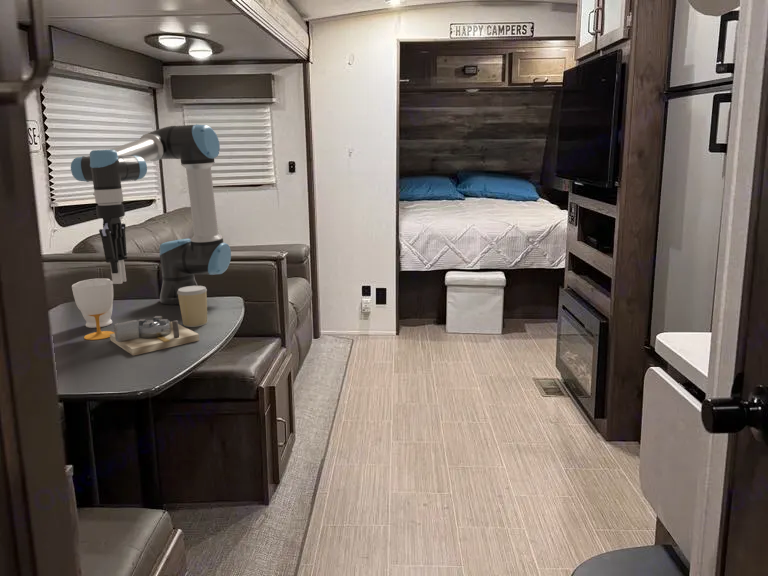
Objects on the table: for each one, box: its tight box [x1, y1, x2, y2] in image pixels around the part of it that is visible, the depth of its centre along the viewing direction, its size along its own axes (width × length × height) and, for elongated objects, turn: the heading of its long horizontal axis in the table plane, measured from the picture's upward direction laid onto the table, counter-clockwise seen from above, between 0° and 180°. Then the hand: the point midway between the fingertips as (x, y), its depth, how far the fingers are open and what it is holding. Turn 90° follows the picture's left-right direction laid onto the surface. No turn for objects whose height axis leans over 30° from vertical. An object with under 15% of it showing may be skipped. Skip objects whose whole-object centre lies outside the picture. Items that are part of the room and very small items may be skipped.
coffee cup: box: [177, 285, 208, 328], centre depth 215 cm, size 9×9×12 cm
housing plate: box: [109, 320, 200, 357], centre depth 198 cm, size 20×20×7 cm
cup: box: [71, 279, 115, 341], centre depth 204 cm, size 12×12×17 cm
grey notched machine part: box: [113, 315, 171, 342], centre depth 196 cm, size 16×10×5 cm, turn 129°
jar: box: [76, 277, 114, 329], centre depth 217 cm, size 11×10×15 cm
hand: (119, 282), depth 195 cm, fingers open, 2 cm apart
